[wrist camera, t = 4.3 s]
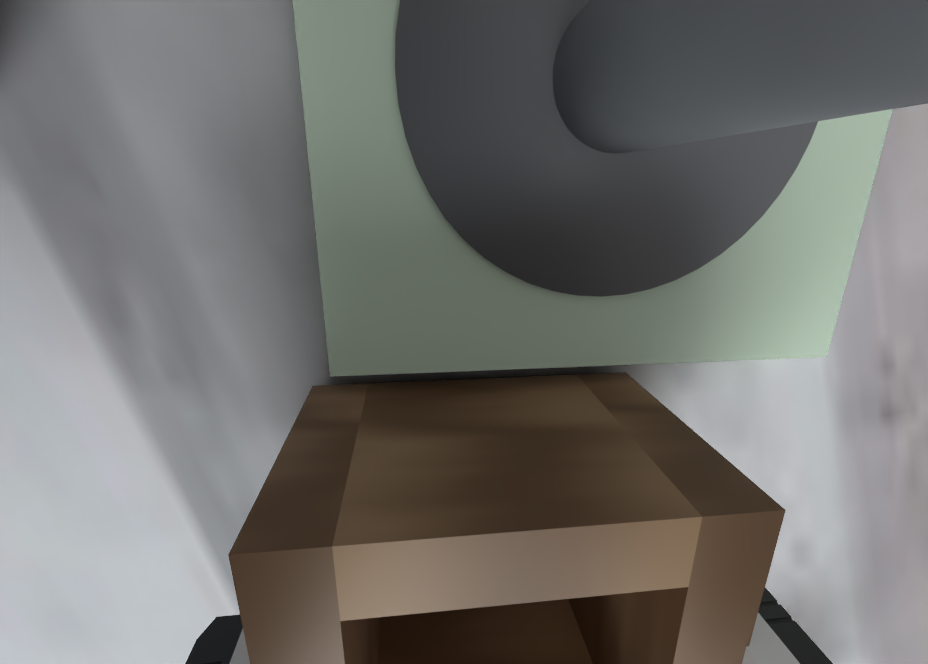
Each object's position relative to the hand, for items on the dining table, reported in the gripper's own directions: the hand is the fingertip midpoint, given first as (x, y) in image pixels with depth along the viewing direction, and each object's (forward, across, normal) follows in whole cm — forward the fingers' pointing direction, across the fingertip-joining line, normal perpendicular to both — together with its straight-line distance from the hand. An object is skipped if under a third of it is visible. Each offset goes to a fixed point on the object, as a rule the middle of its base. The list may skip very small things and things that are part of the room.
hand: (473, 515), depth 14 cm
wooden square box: (0, 0, 0) cm, 0 cm away
